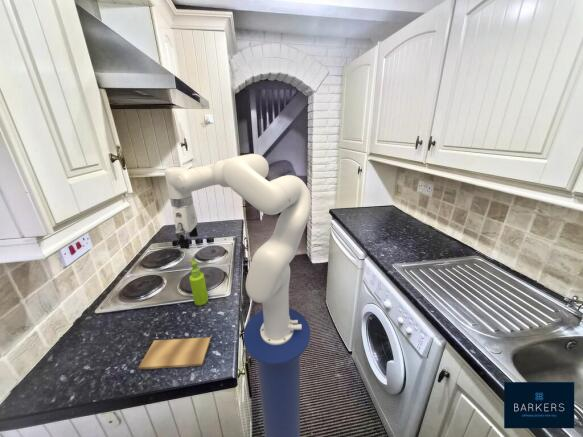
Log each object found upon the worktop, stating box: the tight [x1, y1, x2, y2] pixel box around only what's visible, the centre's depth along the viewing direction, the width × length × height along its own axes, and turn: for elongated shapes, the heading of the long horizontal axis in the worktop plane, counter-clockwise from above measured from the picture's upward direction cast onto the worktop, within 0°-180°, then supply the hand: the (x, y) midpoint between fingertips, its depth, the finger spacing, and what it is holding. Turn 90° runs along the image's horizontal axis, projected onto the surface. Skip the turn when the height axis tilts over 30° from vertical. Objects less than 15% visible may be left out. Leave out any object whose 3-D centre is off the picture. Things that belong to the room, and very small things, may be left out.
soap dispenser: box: [188, 258, 209, 306], centre depth 99 cm, size 6×7×20 cm
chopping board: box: [138, 336, 212, 370], centre depth 78 cm, size 20×10×1 cm, turn 93°
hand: (189, 241), depth 91 cm, fingers open, 9 cm apart
